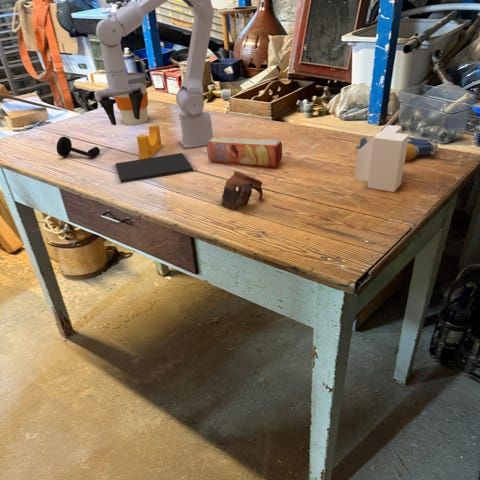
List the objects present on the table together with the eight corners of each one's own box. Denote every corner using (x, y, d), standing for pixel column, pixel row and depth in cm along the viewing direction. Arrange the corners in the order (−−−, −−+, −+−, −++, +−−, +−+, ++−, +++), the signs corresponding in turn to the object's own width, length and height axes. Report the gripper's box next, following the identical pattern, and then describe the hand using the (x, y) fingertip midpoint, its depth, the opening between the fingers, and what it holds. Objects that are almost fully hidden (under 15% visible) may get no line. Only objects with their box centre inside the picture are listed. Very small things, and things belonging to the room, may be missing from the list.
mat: (182, 155, 142) (182, 152, 142) (193, 170, 132) (192, 168, 131) (115, 165, 138) (115, 163, 138) (121, 182, 127) (120, 179, 127)
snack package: (206, 163, 136) (204, 139, 132) (216, 155, 140) (214, 132, 136) (276, 170, 129) (276, 145, 124) (284, 162, 133) (284, 137, 129)
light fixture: (110, 155, 153) (87, 168, 143) (82, 146, 154) (57, 158, 145) (110, 136, 149) (86, 149, 139) (80, 128, 151) (55, 139, 141)
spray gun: (418, 168, 124) (441, 153, 132) (420, 152, 121) (444, 137, 130) (348, 155, 135) (374, 142, 144) (349, 140, 133) (375, 128, 142)
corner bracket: (394, 192, 113) (402, 141, 106) (349, 184, 119) (354, 135, 111) (407, 176, 120) (415, 128, 113) (364, 169, 125) (370, 122, 118)
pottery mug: (215, 200, 116) (227, 167, 114) (250, 213, 119) (262, 181, 117) (223, 207, 105) (236, 171, 103) (261, 221, 108) (275, 186, 106)
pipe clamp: (149, 145, 151) (145, 125, 147) (161, 146, 150) (158, 125, 146) (135, 159, 142) (131, 137, 138) (148, 159, 141) (145, 137, 137)
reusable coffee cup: (149, 125, 170) (142, 79, 161) (115, 126, 170) (105, 81, 161) (154, 115, 180) (148, 71, 171) (122, 117, 180) (113, 73, 171)
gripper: (132, 64, 137) (140, 113, 145) (85, 73, 131) (97, 124, 139) (143, 67, 133) (152, 118, 141) (95, 76, 126) (107, 129, 134)
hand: (125, 121), depth 140 cm, fingers open, 7 cm apart
